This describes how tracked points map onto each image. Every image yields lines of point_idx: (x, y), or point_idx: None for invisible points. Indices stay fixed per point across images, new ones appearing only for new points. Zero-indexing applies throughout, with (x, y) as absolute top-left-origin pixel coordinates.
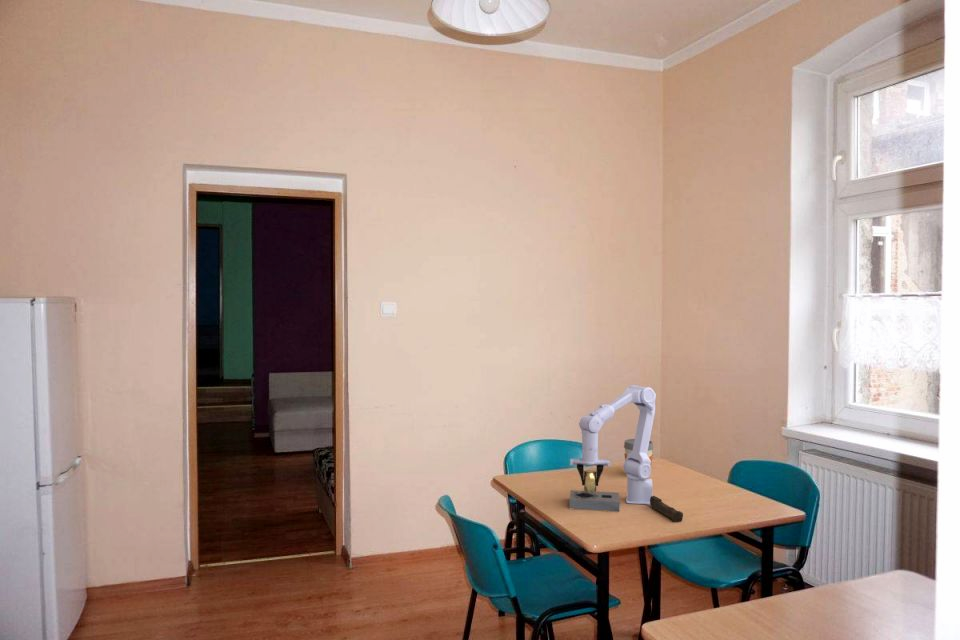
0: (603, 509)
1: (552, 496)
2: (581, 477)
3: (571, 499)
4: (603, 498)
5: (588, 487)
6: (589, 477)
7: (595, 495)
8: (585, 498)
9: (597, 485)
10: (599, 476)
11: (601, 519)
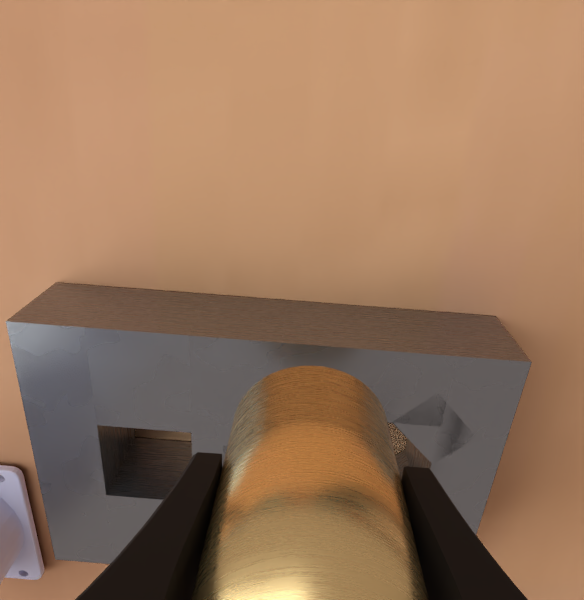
0: (192, 297)
1: (566, 568)
2: (492, 572)
3: (510, 359)
4: (174, 410)
5: (341, 409)
6: (332, 545)
7: None
8: None
9: (199, 458)
10: (109, 576)
11: (213, 10)
